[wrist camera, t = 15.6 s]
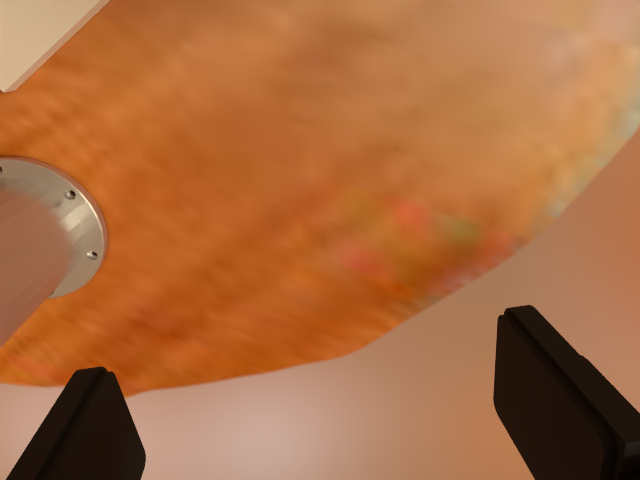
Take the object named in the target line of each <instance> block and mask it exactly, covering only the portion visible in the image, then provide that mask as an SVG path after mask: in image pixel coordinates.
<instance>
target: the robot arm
mask: <svg viewBox="0 0 640 480" xmlns="http://www.w3.org/2000/svg"><path fill="white" fill-rule="evenodd" d="M1 168H2V169H1ZM72 191H74V192H75V194H74V193H73V192H72ZM106 250H107V230H106V226H105V222H104V219H103V216H102V214H101V212H100V210H99V207H98V206H97V204H96V203H95V201H94V200H93V199H92V197H91V196H90V194H89V193H88V192H87V191H86V190H85V189H84V188H83V187H82V186H81V185H80V184H79V183H78V182H77V181H75V180H74V179H73V178H71V177H70V176H69V175H67V174H66V173H64V172H63V171H61V170H59V169H57V168H55V167H53V166H51V165H49V164H46V163H43V162H40V161H38V160H35V159H29V158H24V157H0V348H1V347H2V346H3V345H4V344H5V343H6V342H7V341H8V340H9V338H10V337H11V336H12V335H13V334H14V333H15V332H16V331H17V330H18V329H19V328H20V327H21V326H22V325H23V323H24V322H25V321H26V320H27V319H28V318H29V317H30V316H31V315H32V314H33V313H34V312H35V311H36V310H37V308H38V307H39V306H40V305H41V304H42V303H43V302H44V301H45V300H46V299H50V298H55V297H61V296H64V295H67V294H69V293H72V292H74V291H76V290H78V289H79V288H81V287H82V286H84V285H85V284H86V283H87V282H88V281H89V280H90V279H91V278H92V277H93V276H94V275H95V274H96V272H97V271H98V270H99V268H100V266H101V264H102V262H103V260H104V258H105V254H106ZM95 252H96V253H95ZM493 399H494V406H495V409H496V412H497V414H498V416H499V418H500V419H501V421H502V423H503V425H504V427H505V428H506V430H507V432H508V433H509V435H510V437H511V439H512V440H513V442H514V444H515V446H516V447H517V449H518V451H519V452H520V454H521V456H522V458H523V459H524V461H525V463H526V464H527V466H528V468H529V470H530V472H531V473H532V475H533V477H534V478H535V480H640V413H639V412H638V411H637V410H636V409H635V408H634V407H633V406H632V405H631V404H630V403H629V402H628V401H627V400H626V399H625V398H624V397H623V396H622V395H621V394H620V393H619V392H618V390H617V389H616V388H615V387H614V386H613V385H612V384H611V383H610V382H609V381H608V380H607V379H606V378H605V377H604V376H603V375H602V374H601V373H600V372H599V371H598V370H597V369H596V368H595V367H594V366H593V365H592V364H591V363H590V361H588V360H587V359H586V358H585V357H583V356H581V355H579V354H578V353H577V352H576V350H575V349H574V348H573V347H572V346H571V345H570V344H569V343H568V342H567V341H566V340H565V339H564V338H563V337H562V336H561V335H560V334H559V333H558V332H557V331H556V330H555V328H554V327H553V326H552V325H551V324H550V323H549V322H548V321H547V320H546V319H545V318H544V317H543V316H542V315H541V314H540V313H539V312H538V311H537V310H536V309H535V308H534V307H533V306H531V305H526V306H519V307H512V308H507V309H506V310H505V312H504V315H500V316H499V317H498V324H497V343H496V360H495V379H494V397H493ZM145 457H146V455H145V450H144V448H143V445H142V442H141V440H140V438H139V435H138V432H137V430H136V427H135V424H134V422H133V419H132V417H131V414H130V412H129V409H128V407H127V404H126V402H125V399H124V396H123V394H122V391H121V389H120V386H119V384H118V381H117V379H116V376H115V374H114V373H113V372H108V371H107V369H106V368H104V367H95V368H88V369H81V370H77V371H76V372H75V373H74V374H73V375H72V377H71V379H70V380H69V382H68V383H67V385H66V386H65V388H64V390H63V391H62V393H61V394H60V396H59V397H58V399H57V401H56V402H55V404H54V405H53V407H52V408H51V410H50V411H49V413H48V415H47V416H46V418H45V419H44V421H43V423H42V424H41V426H40V427H39V429H38V430H37V432H36V433H35V435H34V436H33V438H32V440H31V441H30V443H29V444H28V446H27V447H26V449H25V451H24V452H23V454H22V455H21V457H20V458H19V460H18V462H17V463H16V465H15V466H14V468H13V469H12V471H11V472H10V474H9V476H8V477H7V479H6V480H141V476H142V473H143V470H144V467H145V461H146V458H145Z"/></svg>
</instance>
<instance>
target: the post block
mask: <svg viewBox="0 0 640 480" xmlns="http://www.w3.org/2000/svg"><path fill="white" fill-rule="evenodd" d="M109 1H110V0H0V89H1V90H2V91H3V92H9V91H15V90H16V89H17V88H18V87H19V86H20V85H21V84H22V83H23V82H25V81H26V80H27V79H28V78H29V77H30V76H31V75H32V74H33V73H34V72H35V71H36V70H37V69H38V68H39V67H40V66H41V65H43V64H44V63H45V62H46V61H47V60H48V59H49V58H50V57H51V56H52V55H53V54H54V53H55V52H56V51H57V50H58V49H59V48H60V47H62V46H63V45H64V44H65V43H66V42H67V41H68V40H69V39H70V38H71V37H72V36H73V35H74V34H75V33H76V32H77V31H78V30H80V29H81V28H82V27H83V26H84V25H85V24H86V23H87V22H88V21H89V20H90V19H91V18H92V17H93V16H94V15H95V14H96V13H98V12H99V11H100V10H101V9H102V8H103V7H104V6H105V5H106V4H107V3H108V2H109Z"/></svg>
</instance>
